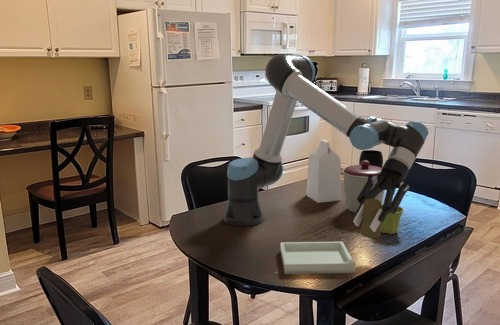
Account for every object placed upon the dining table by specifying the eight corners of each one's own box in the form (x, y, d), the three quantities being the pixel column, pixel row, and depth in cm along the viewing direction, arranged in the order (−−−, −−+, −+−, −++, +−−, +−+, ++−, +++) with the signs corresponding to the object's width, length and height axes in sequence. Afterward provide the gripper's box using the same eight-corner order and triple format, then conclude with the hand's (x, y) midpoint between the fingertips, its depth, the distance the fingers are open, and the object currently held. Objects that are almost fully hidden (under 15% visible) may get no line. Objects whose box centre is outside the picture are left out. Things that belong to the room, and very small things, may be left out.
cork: (381, 238, 130) (384, 203, 127) (360, 237, 131) (362, 202, 128) (380, 231, 136) (382, 197, 133) (359, 229, 137) (361, 196, 134)
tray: (284, 274, 125) (284, 264, 124) (280, 251, 141) (280, 242, 140) (354, 273, 125) (354, 263, 124) (342, 250, 141) (342, 241, 140)
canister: (395, 214, 174) (399, 162, 169) (357, 220, 167) (360, 167, 163) (367, 201, 190) (370, 154, 186) (332, 207, 184) (333, 158, 179)
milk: (306, 195, 201) (307, 139, 196) (328, 192, 205) (330, 138, 199) (317, 202, 190) (319, 143, 185) (341, 200, 193) (343, 142, 188)
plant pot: (390, 225, 162) (391, 202, 161) (407, 233, 154) (409, 210, 152) (369, 228, 159) (370, 205, 157) (386, 237, 151) (387, 213, 149)
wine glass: (377, 191, 207) (379, 149, 202) (384, 197, 197) (386, 153, 192) (355, 191, 206) (356, 149, 202) (361, 197, 196) (363, 154, 192)
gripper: (429, 177, 132) (395, 241, 126) (377, 166, 146) (344, 224, 139) (421, 162, 128) (386, 229, 121) (368, 153, 141) (334, 212, 135)
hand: (363, 226), depth 130 cm, fingers closed on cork, 5 cm apart
